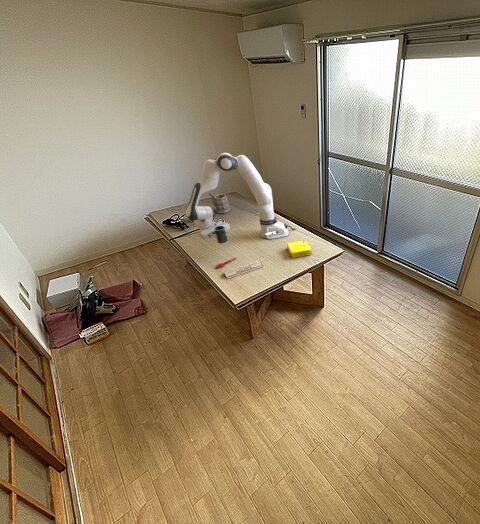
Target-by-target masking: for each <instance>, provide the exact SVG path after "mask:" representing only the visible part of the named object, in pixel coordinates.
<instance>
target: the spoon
mask: <svg viewBox="0 0 480 524" xmlns="http://www.w3.org/2000/svg"><path fill="white" fill-rule="evenodd" d="M236 259H237V258H236V257H233V258H231V259H229V260H227V261H225V262H223V263H222V262H221V263H219V264H217V265H216V266H215V268H216V269H221V268H224V267H225V265H227V264H228V263H231V262H232V261H235V260H236Z"/></svg>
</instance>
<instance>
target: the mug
mask: <svg viewBox="0 0 480 524" xmlns="http://www.w3.org/2000/svg"><path fill="white" fill-rule="evenodd" d="M214 231H215V234H216V235H217V237H216V238H215V239H216V241H217V243H218V244H225V243H227V242H228V235H227V233H226V231H225V227H224V226H217V227H215V228H214Z"/></svg>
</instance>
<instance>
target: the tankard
mask: <svg viewBox="0 0 480 524" xmlns="http://www.w3.org/2000/svg"><path fill="white" fill-rule="evenodd" d="M208 195H209V196H210V197H211V198H212V204H213V206H214V207H215V213H217V214H226V213H229V212H231V207H230V204H229V202H228V200H229V199H228V197H227V195H226V194H216V195H215V194H213V193H212V192H210V193H209V194H208Z"/></svg>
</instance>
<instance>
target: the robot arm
mask: <svg viewBox="0 0 480 524" xmlns="http://www.w3.org/2000/svg"><path fill="white" fill-rule="evenodd" d="M235 170H236V171H237V172H238V173H239V174H240V176H241V178H243V180H244V181H245V183H246V184H247V186H248V188H249V190H250V191H251V194H252V195H253V197H254V199H255V200H256V203H257V206H258V214H259V224H260V237H262V238H264V239H267V240H275V239H279V238H286V237H288V236H289V234H290V231H289V229H288V227H289V228H290V229H291V230H292V231H294V230H296V228H293V227H292V226H291V225H289V224H288V225H287V223H286V222H285V223H283V222H281V221H279V220H278V217H277V216H276V215H275V211H274V202H273V190H272V188H271V186H270V184H268V183H265V182H264V180H263V178H262V176H261V174H260V173H259V171H258V170H257V169H256V167H255V166H254V164H253V163H252V162H251V160H250V159H249V157H247V156H246V155H244V154H239V155H237V156H234V155H232V154H231V153H229V152H228V151H223V152H220V153H219V154H218V155H216V157H215V158H214V159H206V160H205V161H204V163H203V166H202V169H201V175H200V178H199V180H198V181H197V182H196V183H195V184H194V186H193V188H192V192H191V195H190V198H189V200H188V201H189V202H188V204H187V206H186V208H185V212H184V213H185V217H186V218H187V219H188V220H190V221H192V222H193V223H194V226H195V227H196V228H197V229H198V230H200V231H199V232H198V233H197V235H198V236H199V237H201V238H202V239H203V240H208V239H211V238H215V239H217V238H216V237H217V235H216V234H215V231H214V228H215V227H217V226H224V227H225V231H226V234H228V231H230V230H231V227H230V224H229V223H227V222H225V221H222V220H221V219H219V220H215V217H216V216H215V214H216V213H215V210H214V209H213V208H212V207H211V206H210V205H209V206H208V205H199V202H200V198H201V196H202V195H203V194H205V193H207V192H211V191H213V190H215V189H216V188H217V187H218V185H219V181H220V180H219V179H220V174H221V172H222V171H223V172H231V171H235Z"/></svg>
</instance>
